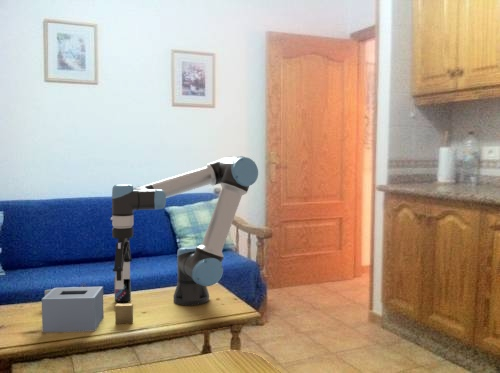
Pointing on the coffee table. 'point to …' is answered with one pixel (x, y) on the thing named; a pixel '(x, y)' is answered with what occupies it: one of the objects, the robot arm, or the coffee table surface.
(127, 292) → the supplement container
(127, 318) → the tan flat block
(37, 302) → the coffee table surface
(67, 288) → the coin box
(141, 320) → the coffee table surface
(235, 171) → the robot arm
